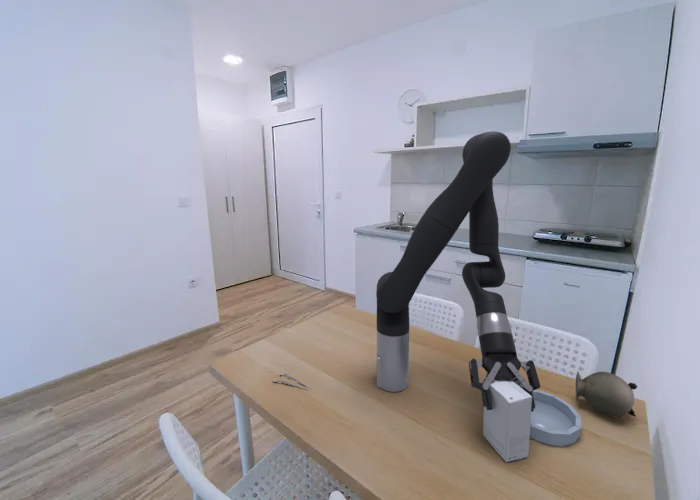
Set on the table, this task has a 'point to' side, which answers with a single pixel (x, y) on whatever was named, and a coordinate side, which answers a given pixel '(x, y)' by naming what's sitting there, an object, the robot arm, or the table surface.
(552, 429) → the bowl
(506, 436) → the skincare box
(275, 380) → the tweezers
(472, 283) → the robot arm
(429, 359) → the table surface
